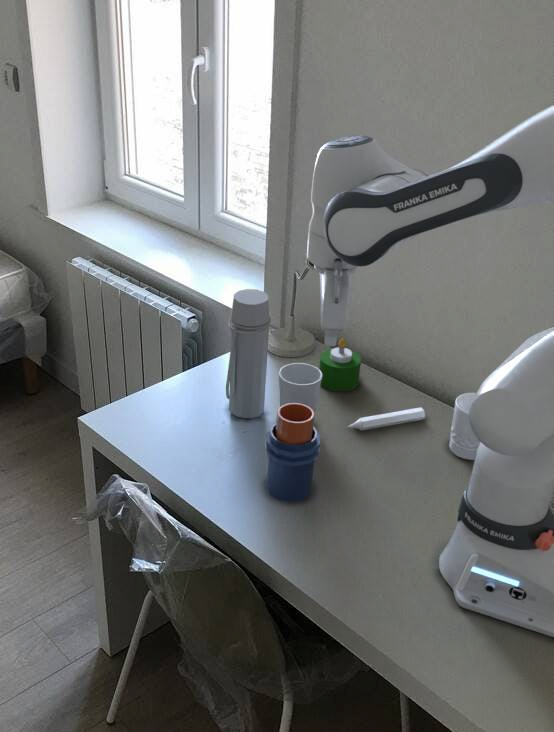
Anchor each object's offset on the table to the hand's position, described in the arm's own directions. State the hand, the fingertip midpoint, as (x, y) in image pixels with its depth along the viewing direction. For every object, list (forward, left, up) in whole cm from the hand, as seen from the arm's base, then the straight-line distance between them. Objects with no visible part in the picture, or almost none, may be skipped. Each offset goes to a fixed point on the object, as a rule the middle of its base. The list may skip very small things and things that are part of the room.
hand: (329, 330), depth 135 cm
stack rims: (+2, +5, -21) cm, 22 cm away
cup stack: (+2, +5, -30) cm, 30 cm away
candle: (+13, -32, -30) cm, 45 cm away
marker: (-2, -23, -30) cm, 38 cm away
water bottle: (+22, -10, -30) cm, 38 cm away
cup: (+11, -12, -30) cm, 34 cm away
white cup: (-18, -25, -30) cm, 43 cm away
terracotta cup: (+2, +5, -24) cm, 24 cm away
